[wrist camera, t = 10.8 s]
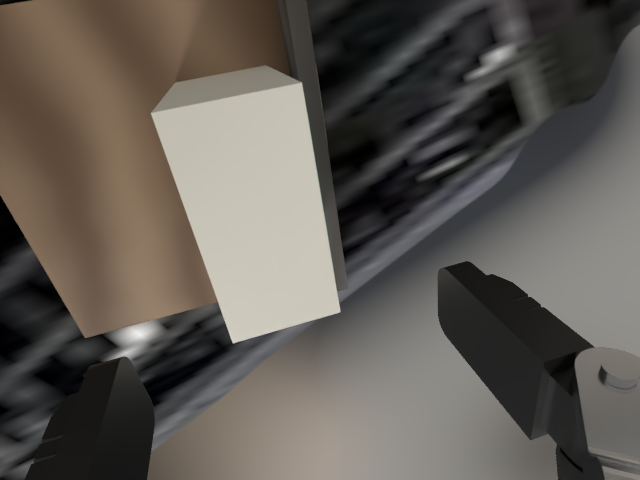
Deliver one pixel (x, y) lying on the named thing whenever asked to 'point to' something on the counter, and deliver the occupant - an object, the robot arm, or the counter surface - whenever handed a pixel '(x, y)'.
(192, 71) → the shelf plank
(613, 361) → the robot arm
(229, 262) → the carton
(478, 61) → the counter surface
